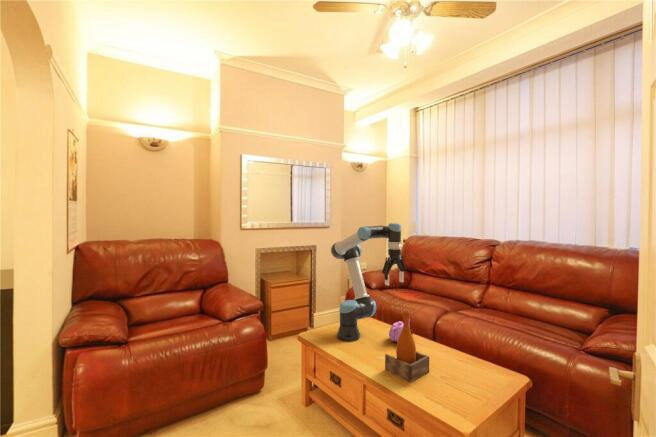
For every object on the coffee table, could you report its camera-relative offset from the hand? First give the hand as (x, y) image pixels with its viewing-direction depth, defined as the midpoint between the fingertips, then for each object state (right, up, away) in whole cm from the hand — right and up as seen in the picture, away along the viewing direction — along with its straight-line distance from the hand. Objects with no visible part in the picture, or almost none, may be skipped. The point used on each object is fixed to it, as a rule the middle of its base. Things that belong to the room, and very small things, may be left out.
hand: (394, 283), depth 190 cm
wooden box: (+1, -40, -27) cm, 48 cm away
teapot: (+7, -40, +12) cm, 42 cm away
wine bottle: (+1, -39, -26) cm, 47 cm away
